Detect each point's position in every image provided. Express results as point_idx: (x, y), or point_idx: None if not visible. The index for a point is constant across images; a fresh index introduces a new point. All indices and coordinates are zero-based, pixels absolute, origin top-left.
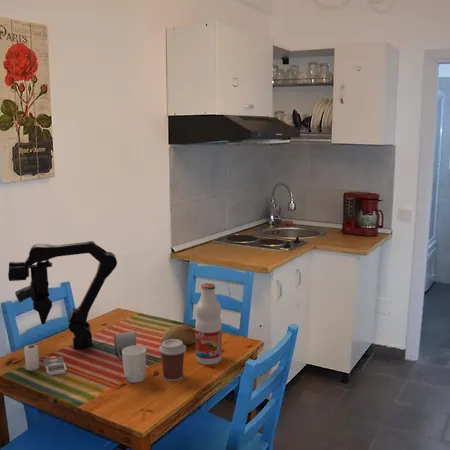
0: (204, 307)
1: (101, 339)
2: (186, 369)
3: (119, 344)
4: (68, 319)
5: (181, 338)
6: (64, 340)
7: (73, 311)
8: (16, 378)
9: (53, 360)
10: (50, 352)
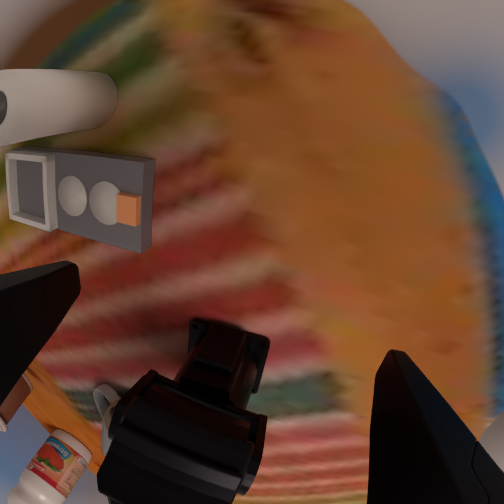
0: (7, 500)
1: (293, 429)
2: (43, 406)
3: (103, 417)
4: (158, 448)
5: None
6: (395, 340)
7: (113, 499)
8: (75, 38)
9: (105, 202)
10: (281, 232)
